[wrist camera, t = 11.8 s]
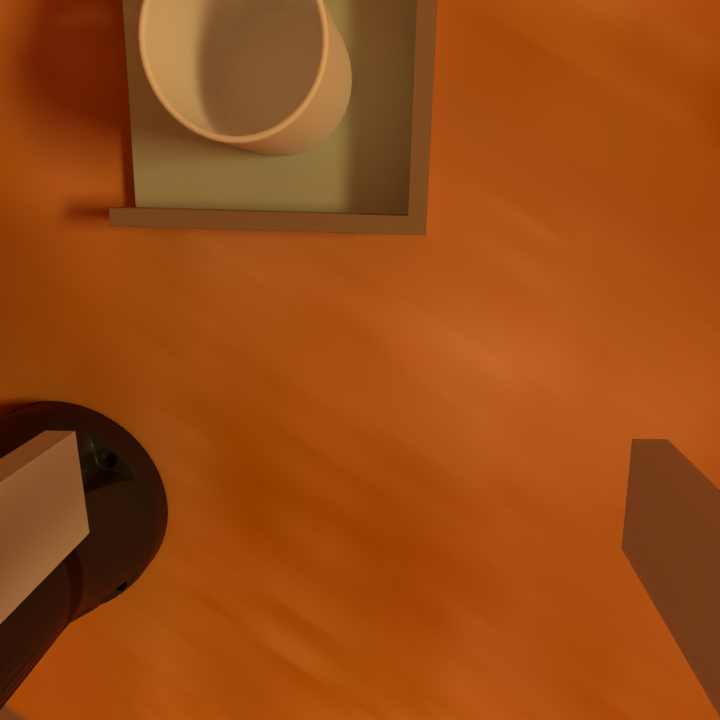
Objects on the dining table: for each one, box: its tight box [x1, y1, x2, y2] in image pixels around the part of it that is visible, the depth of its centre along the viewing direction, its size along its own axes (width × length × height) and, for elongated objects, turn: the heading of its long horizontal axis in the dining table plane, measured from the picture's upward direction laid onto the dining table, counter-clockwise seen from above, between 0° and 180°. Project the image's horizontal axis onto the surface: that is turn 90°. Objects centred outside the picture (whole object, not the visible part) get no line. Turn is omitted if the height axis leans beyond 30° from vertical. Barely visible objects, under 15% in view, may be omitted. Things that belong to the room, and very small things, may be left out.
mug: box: [138, 0, 352, 156], centre depth 31 cm, size 12×8×10 cm
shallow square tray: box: [109, 0, 437, 235], centre depth 35 cm, size 18×19×4 cm
